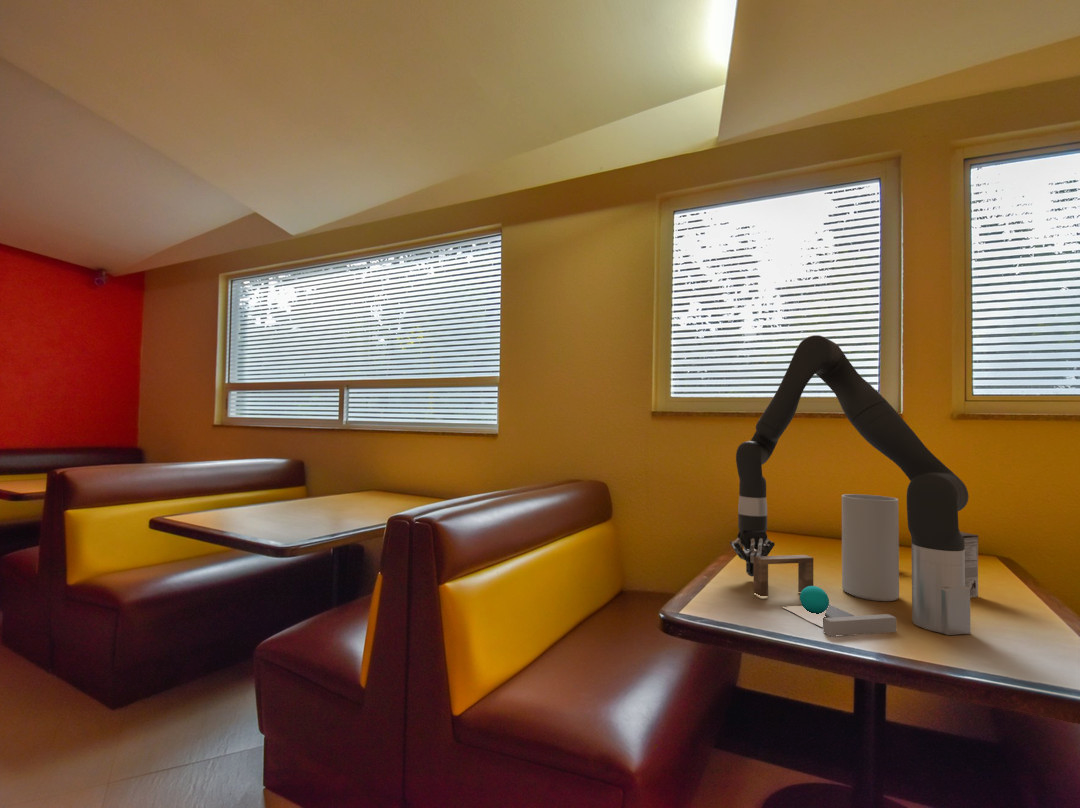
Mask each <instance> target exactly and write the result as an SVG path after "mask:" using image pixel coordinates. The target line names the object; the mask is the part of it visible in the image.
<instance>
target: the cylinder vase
mask: <svg viewBox="0 0 1080 808" xmlns="http://www.w3.org/2000/svg"><path fill="white" fill-rule="evenodd" d="M899 519H900V517H899V498H896V497H893V496H882V495H873V494H860V493H858V494H857V493H852V494H851V493H848V494H847V493H845V494H842V495H841V587H842V590H843V591H844V592H845V593H846V592H847V594H848V593H849V595H850V594H851V596H853V597H856V598H859V599H863V600H869V601H876V602H892V601H896V600H899V598H900V541H899V540H900V538H899V537H900V536H899V535H900V533H899V532H900V527H899V524H900V523H899V522H900V521H899Z"/></svg>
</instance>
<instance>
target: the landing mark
mask: <svg viewBox="0 0 1080 808" xmlns="http://www.w3.org/2000/svg"><path fill="white" fill-rule="evenodd" d="M831 605H832V604H830V603H829V607H828V609H826V613H825V616H826V617H824V618H833V617H849V616H855V615H854V614H852V613H850V612H848V611H846V610H844V609H840V608H839V607H837V606H834V605H832V606H831Z"/></svg>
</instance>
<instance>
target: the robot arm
mask: <svg viewBox="0 0 1080 808" xmlns="http://www.w3.org/2000/svg"><path fill="white" fill-rule="evenodd" d="M815 375H816V376H818V377H819V379H820V380H822V381H823V382H824V384H826V385H827V387H829V388H830V390H831V391H832V392H833V393H834V395H835V397H836V398H837V401H838V403H839V405H840V406H841V409H842V411H843V413H844V415H845V416H846V418H847V419H848V421H849V423H850V424H851V425H852V426H853V427H854V428H855V430H856V431H857V432H858V434H859V435H860V436H861V438H862V437H863V439H864V440H865V441H866V442H867V443H868V444H870V445H871V446H872V447H873V448H874V449H876V450H877V451H879V453H880V454H883V456H885V457H886V458H887V459H889V460H890V461H892V462H893V463H894V464H896V465H897V467H898V468H900V469H901V470H902V472H903V473H904V474H905V476H906V477H907V478H908V479H909V481H910V482H908V486H907V490H906V515H907V517H906V518H907V519H906V520H907V527H908V531H909V533H910V537H911V601H912V602H911V605H912V606H911V608H912V609H911V610H912V611H911V612H912V614H911V615H912V618H911V621H912V623H913V624H914V625H916V626H917V627H920V628H923V629H925V630H927V631H932V632H934V633H935V632H936V633H940V634H944V635H947V636H954V635H968V634H972V632H971V631H972V630H971V629H972V628H971V626H972V625H971V623H972V622H971V598H970V588H969V587H966V586H965V550H964V549H965V544H964V537H963V536H962V535H961V533H960V532H961V531H960V527H959V512H960V511H962V510H963V509H964V508H965V507H966V506H967V504H968V502H969V498H970V497H969V491H968V488H967V485H966V484H965V483H964V481H963V480H961V478H960V477H959V476H957V475H956V474H955V473H954V472H953V471H952V470H951V469H949V467H947V466H946V465H945V464H944V463H943V462H942V461H941V460H940V459H939V458H937V457H936V456H935V455H934V454H933V453H932V452H931V450H929V448H928V447H927V446H926V445H925V444H924V443H923V442H922V440H921V439H920V438H919V436H917V434H916V433H915V431H913V429H912V428H911V427H910V425H908V424H907V422H906V421H905V420H904V419H903V418H902V417H901V415H900V414H899V413H898V412H897V410H896V409H895V408H894V407H893V406H892V405H891V404H890V403H889V401H888V400H887V399H885V398H884V397H883V395H882V394H881V393H879V391H878V390H877V389H876V388H875V387H874V386H873V385H871V384H870V383H869V382H868V381H867V380H866V379H864V377H862V376H861V375H860V374H859V373H858V371H857V369H855V367H854V366H853V364H852V363H851V362H850V361H849V359H848V358H847V356H846V355H845V353H844V352H843V350H842V348H841V347H840V346H839V345H838V344H837V343H836V342H835V341H832V340H831V339H829V338H827V337H825V336H822V335H817V334H815V335H814V334H813V335H809V336H807V337H805V338H804V339H802V340H801V341H800V342H799V344H798V345H797V347H796V349H795V351H794V354H793V355H792V358H791V360H790V363H789V365H788V367H787V370H786V372H785V373H784V376H783V378H782V380H781V382H780V384H779V386H778V388H777V390H776V392H775V394H774V396H773V397H772V399H771V401H770V403H769V404H768V405H767V407H766V409H765V410H764V412H763V413H762V414H761V416H760V417H759V419H758V420H757V422H756V425H755V432H754V433H753V436H752V437H751V439H750V440H748V441H743V442H742V443H741V444H739V445H738V447H737V450H736V452H735V453H736V454H735V462H736V469H737V474H738V479H739V482H738V483H739V489H738V490H739V492H738V493H739V495H738V505H737V507H738V509H737V510H738V511H737V512H738V513H737V514H738V515H737V517H738V518H737V519H738V520H737V524H738V525H737V527H738V533H737V538H736V539H735V540H731V541H730V542H729V544H730V546H731V548H732V549H733V551H734V552H735V553H736V555H737V556H738V558H739V559H740V560H742V561H743V560H744V561H745V565H746V568H745V572H746V574H747V575H748V576H750V577H754V557H756V556H769V554H771V551H772V550H773V549H774V547H775V544H776V543H775V542H773V541H772V540H770V539H769V538H768V534H767V530H768V501H767V481H766V478H765V477H764V475H763V465H764V464H765V463H767V461H768V460H769V459H770V458H771V456H772V455H773V452H774V450H775V449H776V446H777V444H778V442H779V439H780V438H781V436H782V435H783V433H784V432H785V431H786V429H787V428H788V426H789V425H790V424H791V422H792V421H793V418H794V416H795V415H796V411H797V410H798V407H799V404H800V403H799V402H800V400H801V397H802V395H803V392H804V390H805V388H806V386H807V385H808V383H809V382H810V380H812V378H813V376H815ZM742 547H743V548H742Z"/></svg>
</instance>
